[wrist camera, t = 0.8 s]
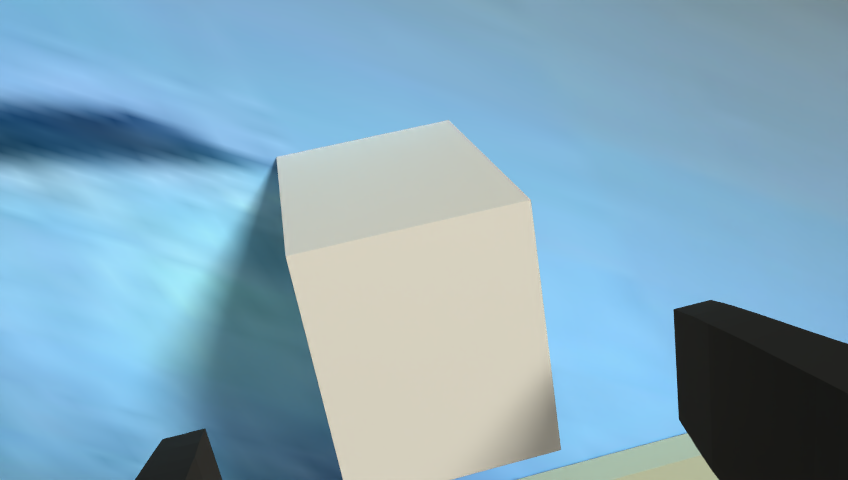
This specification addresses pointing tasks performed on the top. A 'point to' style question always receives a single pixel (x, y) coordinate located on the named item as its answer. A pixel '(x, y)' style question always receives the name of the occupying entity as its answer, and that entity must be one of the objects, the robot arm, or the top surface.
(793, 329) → the robot arm
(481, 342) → the chute block
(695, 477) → the deck
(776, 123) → the top surface
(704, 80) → the top surface
